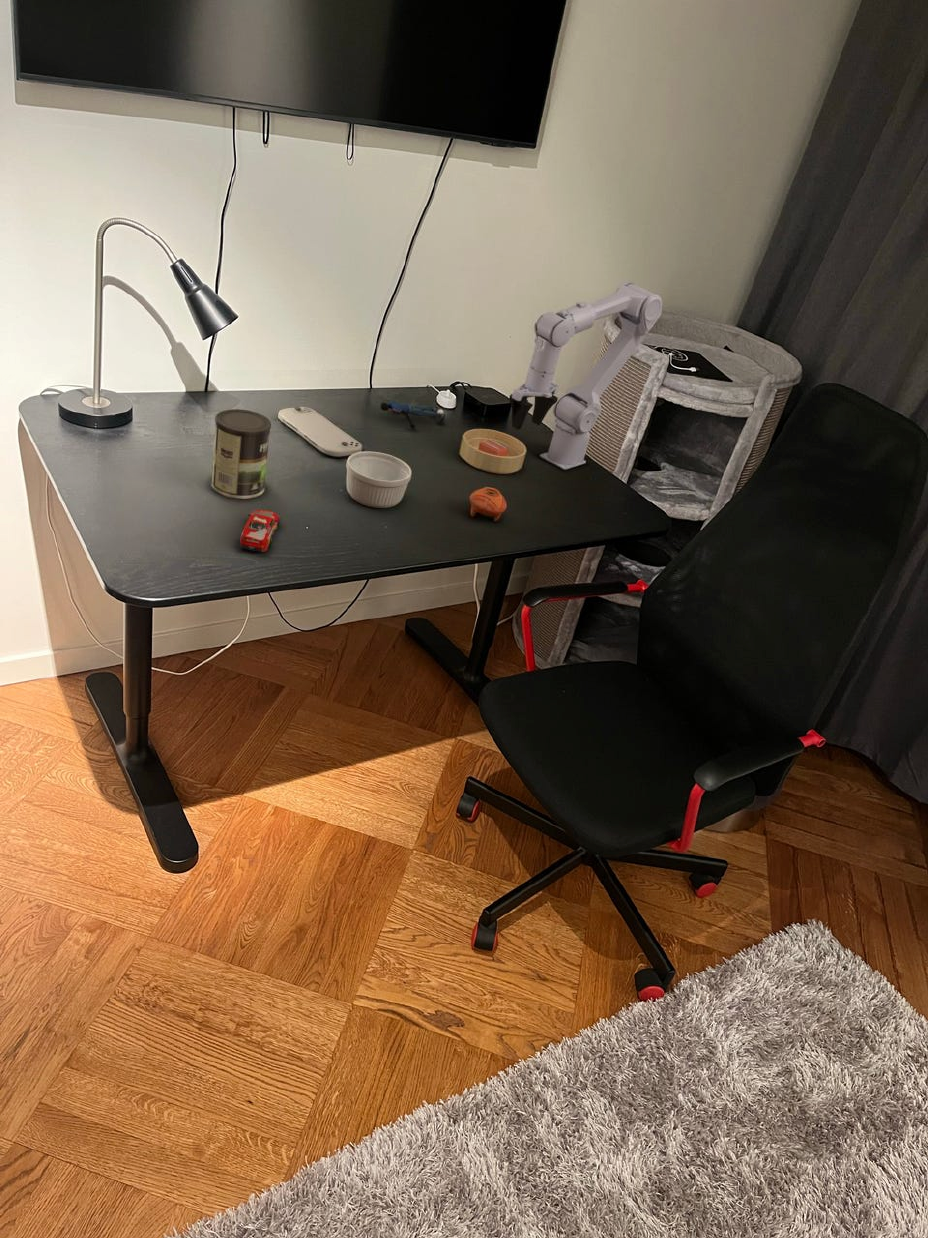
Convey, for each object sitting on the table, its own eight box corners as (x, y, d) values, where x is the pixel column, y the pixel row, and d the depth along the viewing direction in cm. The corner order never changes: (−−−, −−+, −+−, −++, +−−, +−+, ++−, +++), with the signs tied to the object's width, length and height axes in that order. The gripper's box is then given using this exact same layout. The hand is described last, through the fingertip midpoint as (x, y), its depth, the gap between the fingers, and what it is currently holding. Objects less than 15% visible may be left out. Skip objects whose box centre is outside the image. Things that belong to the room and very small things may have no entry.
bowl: (487, 441, 224) (491, 424, 222) (534, 467, 217) (539, 450, 215) (445, 452, 214) (449, 434, 211) (494, 480, 207) (498, 462, 204)
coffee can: (267, 479, 184) (274, 414, 176) (261, 503, 176) (267, 435, 168) (215, 470, 182) (219, 404, 175) (206, 494, 174) (210, 425, 166)
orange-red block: (487, 451, 218) (491, 437, 216) (505, 461, 215) (508, 447, 213) (476, 454, 215) (480, 440, 213) (494, 464, 213) (498, 450, 211)
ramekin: (415, 495, 192) (421, 465, 189) (390, 518, 182) (396, 487, 178) (358, 474, 195) (363, 444, 191) (331, 497, 184) (335, 465, 180)
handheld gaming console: (273, 406, 208) (310, 402, 214) (272, 417, 209) (308, 413, 216) (331, 449, 195) (368, 444, 202) (329, 461, 197) (366, 455, 203)
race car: (253, 516, 171) (254, 497, 169) (281, 522, 171) (283, 504, 169) (234, 550, 160) (236, 530, 158) (265, 556, 160) (267, 537, 158)
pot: (463, 501, 194) (477, 475, 191) (496, 516, 196) (510, 490, 192) (462, 518, 187) (477, 490, 184) (496, 533, 189) (511, 506, 185)
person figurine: (428, 417, 234) (367, 408, 223) (433, 400, 232) (372, 391, 221) (449, 435, 226) (387, 427, 216) (455, 418, 224) (392, 410, 214)
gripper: (536, 378, 196) (520, 437, 203) (574, 372, 206) (557, 428, 213) (511, 366, 199) (496, 424, 206) (550, 360, 209) (534, 416, 217)
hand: (526, 425), depth 210 cm, fingers open, 7 cm apart
